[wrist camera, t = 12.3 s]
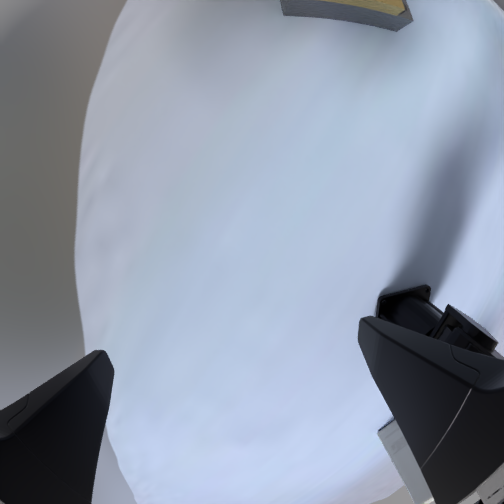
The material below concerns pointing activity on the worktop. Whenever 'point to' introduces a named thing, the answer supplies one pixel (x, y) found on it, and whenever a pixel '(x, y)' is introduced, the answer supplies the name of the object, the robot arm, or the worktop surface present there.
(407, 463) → the skincare box
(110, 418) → the worktop surface
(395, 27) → the grey and tan tray
